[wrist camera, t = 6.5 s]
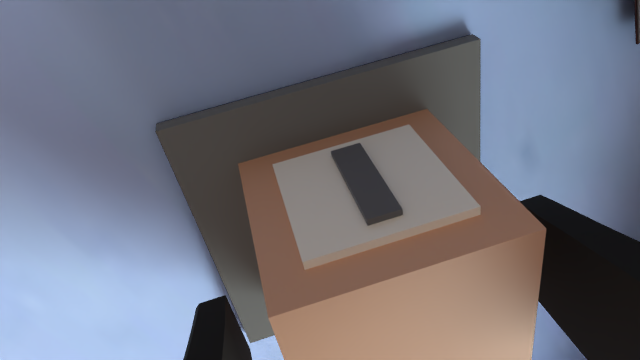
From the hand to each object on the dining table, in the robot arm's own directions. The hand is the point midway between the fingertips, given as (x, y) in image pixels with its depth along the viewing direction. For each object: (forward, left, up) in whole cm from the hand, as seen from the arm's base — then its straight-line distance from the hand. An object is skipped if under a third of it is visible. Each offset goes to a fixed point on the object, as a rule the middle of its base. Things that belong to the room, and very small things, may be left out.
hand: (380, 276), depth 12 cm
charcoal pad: (0, 0, -3) cm, 3 cm away
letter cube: (0, 0, -3) cm, 3 cm away
